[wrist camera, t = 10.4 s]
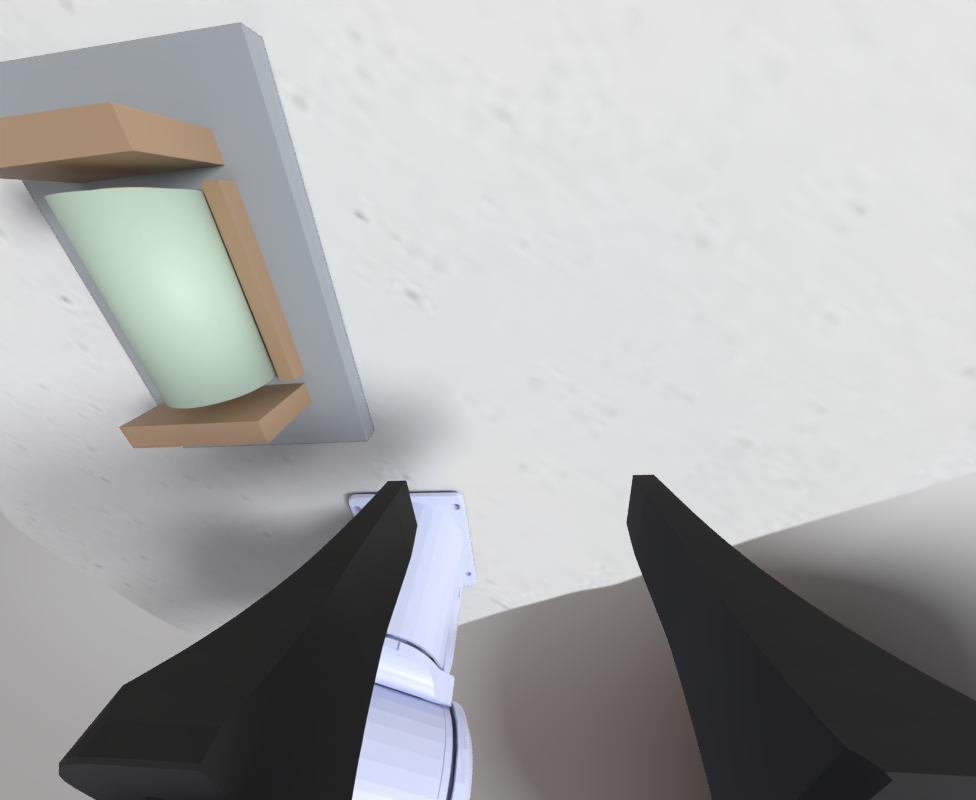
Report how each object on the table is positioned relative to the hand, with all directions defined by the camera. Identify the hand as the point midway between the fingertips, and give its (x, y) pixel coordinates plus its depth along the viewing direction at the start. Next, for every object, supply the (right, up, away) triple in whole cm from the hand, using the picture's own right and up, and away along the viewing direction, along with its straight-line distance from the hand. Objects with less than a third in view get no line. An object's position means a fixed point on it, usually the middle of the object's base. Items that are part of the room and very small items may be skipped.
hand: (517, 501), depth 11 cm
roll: (-15, +8, +6) cm, 18 cm away
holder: (-15, +9, +7) cm, 19 cm away
